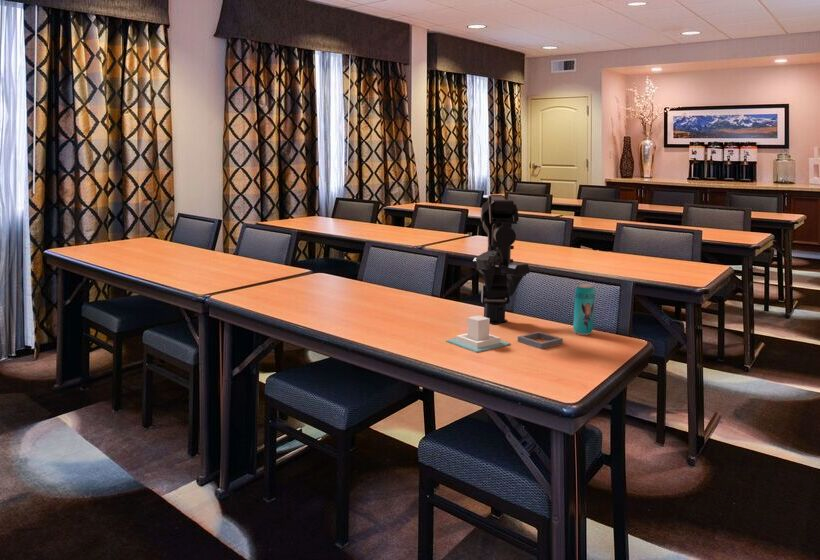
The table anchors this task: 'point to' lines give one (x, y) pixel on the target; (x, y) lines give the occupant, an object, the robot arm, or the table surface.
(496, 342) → the socket
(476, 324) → the plug block
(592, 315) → the beverage can
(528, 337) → the socket
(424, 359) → the table surface
